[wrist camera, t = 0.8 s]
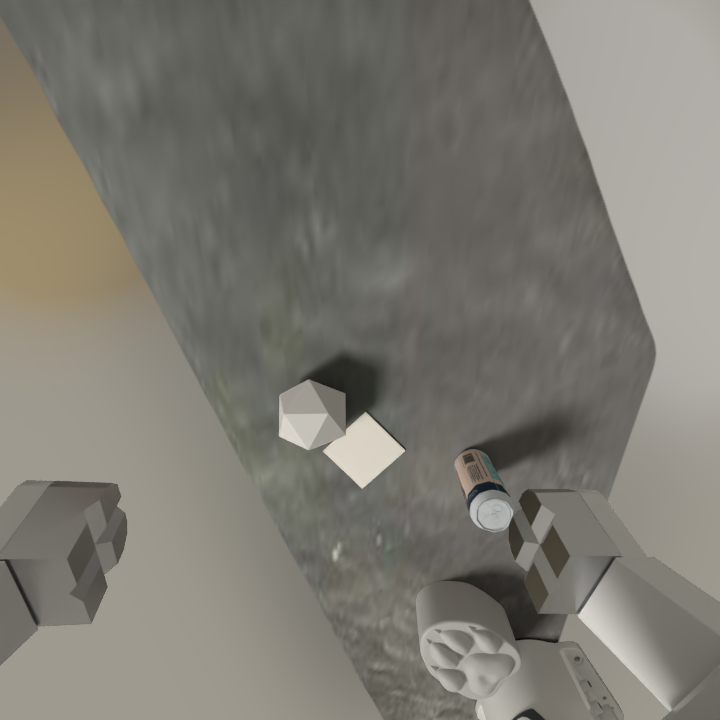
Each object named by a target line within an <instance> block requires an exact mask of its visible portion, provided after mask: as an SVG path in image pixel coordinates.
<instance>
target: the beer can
mask: <svg viewBox="0 0 720 720" xmlns="http://www.w3.org/2000/svg"><path fill="white" fill-rule="evenodd" d="M454 468H455V473H456V476H457V479H458V481H459V484H460V487H461V490H462V493H463V496H464V499H465V502H466V504H467V507H468V510H469V513H470V516H471V518H472V520H473V521H474V523H475V524H476V525H477V526H479V527H480V528H482V529H484V530H488V531H491V532H497V531H501V530H505V529H506V528H507V527H508V526H509V524H510V521H511V518H512V516H513V515H514V514H515V505H514V502H513V500H512V499H511V497H510V495H509V494H508V492H507V490H506V488H505V486H504V484H503V483H502V481H501V479H500V477H499V475H498V474H497V472H496V470H495V468H494V466H493V464H492V463H491V461H490V459H489V457H488V456H487V455H486V454H485V453H484V452H482V451H480V450H476V449H470V450H466V451H464V452H462V453H461V454H460V455H459V456H458V457H457V459H456V461H455V465H454Z"/></svg>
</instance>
